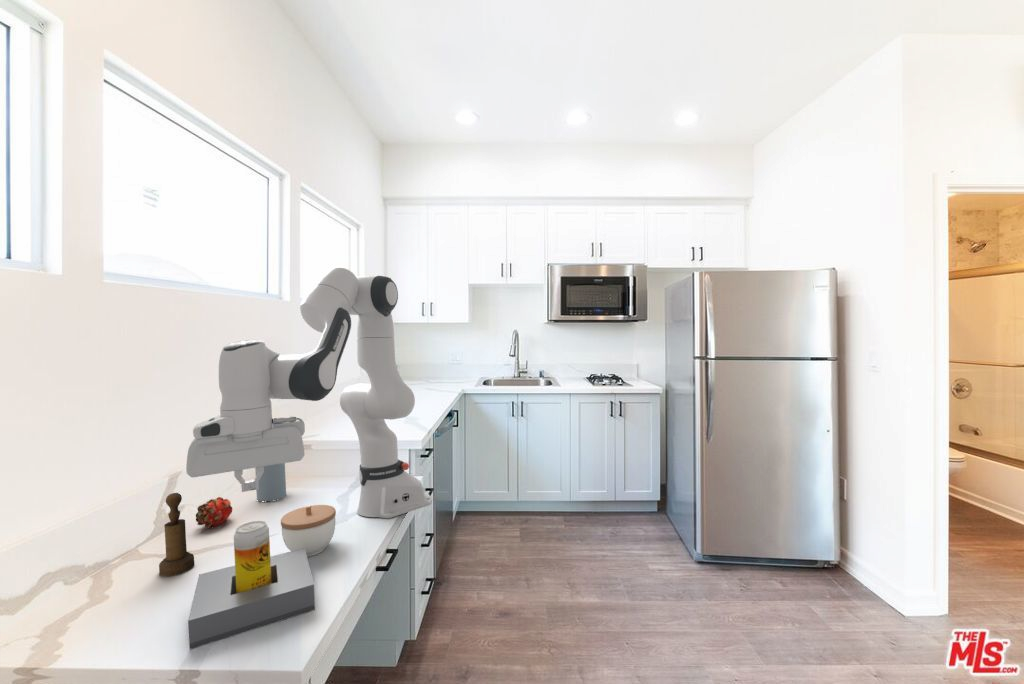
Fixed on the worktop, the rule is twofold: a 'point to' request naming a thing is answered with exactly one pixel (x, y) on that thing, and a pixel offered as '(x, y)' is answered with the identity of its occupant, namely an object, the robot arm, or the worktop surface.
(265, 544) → the beer can
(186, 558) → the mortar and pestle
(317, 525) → the lidded bowl
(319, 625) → the worktop surface
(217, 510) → the dragon fruit
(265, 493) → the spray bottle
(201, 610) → the can dock
